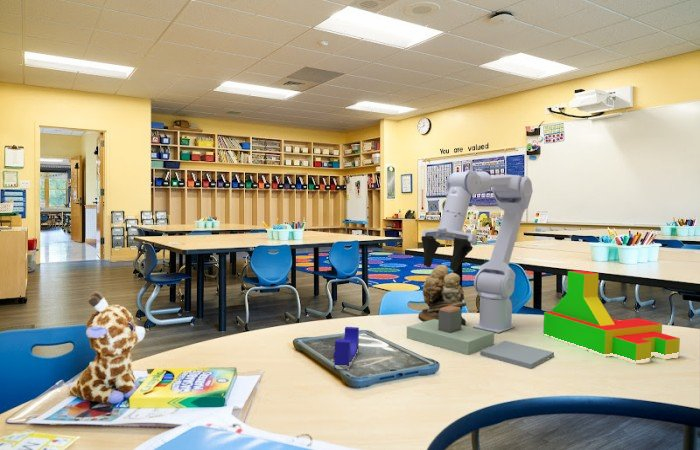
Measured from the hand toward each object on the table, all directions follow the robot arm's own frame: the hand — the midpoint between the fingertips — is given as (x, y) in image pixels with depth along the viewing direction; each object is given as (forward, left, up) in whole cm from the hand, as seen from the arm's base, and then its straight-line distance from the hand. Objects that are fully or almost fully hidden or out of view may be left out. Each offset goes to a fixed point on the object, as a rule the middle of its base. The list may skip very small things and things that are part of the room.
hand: (439, 268), depth 114 cm
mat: (-8, +17, -19) cm, 27 cm away
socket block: (-6, 0, -19) cm, 20 cm away
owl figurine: (-22, -13, -19) cm, 32 cm away
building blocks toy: (-34, +29, -20) cm, 48 cm away
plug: (-6, 0, -19) cm, 20 cm away
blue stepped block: (+24, -8, -20) cm, 32 cm away
